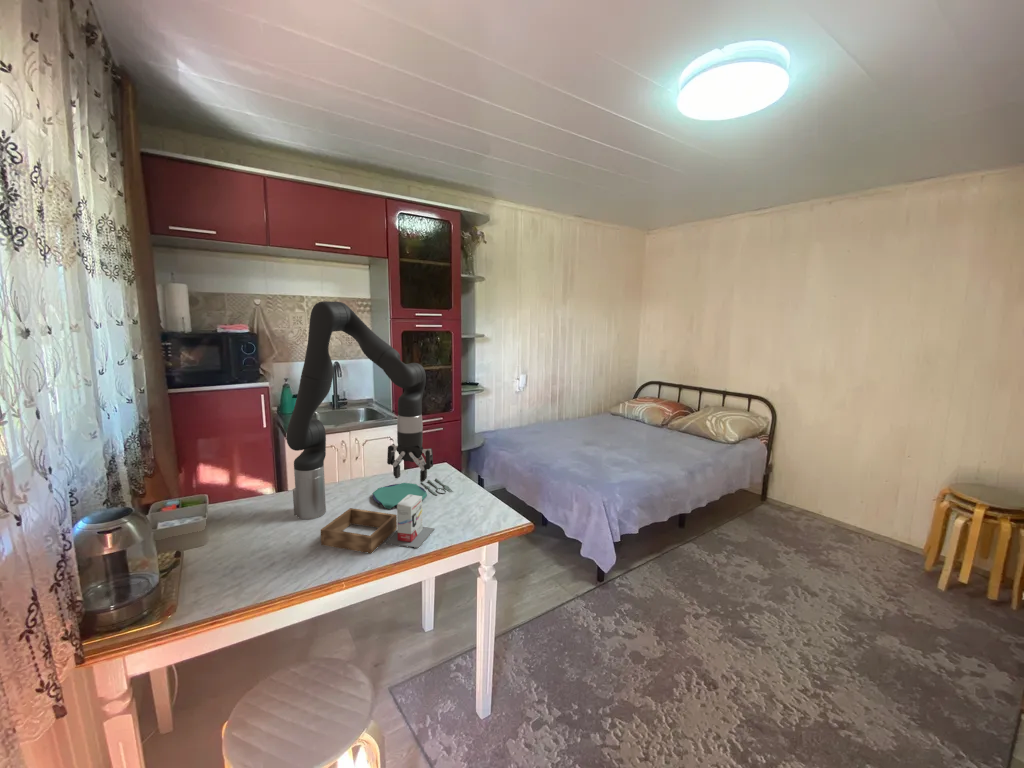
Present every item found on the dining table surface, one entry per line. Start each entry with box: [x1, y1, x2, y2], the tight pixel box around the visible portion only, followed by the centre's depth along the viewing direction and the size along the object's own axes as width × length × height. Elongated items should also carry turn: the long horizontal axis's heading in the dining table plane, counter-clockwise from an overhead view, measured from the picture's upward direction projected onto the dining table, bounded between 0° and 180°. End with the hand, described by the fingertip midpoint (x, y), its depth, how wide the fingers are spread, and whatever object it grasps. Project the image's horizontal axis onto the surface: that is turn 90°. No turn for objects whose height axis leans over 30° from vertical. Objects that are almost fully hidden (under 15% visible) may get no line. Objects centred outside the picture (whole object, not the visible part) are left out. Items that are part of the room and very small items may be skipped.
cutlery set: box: [372, 478, 454, 510], centre depth 164 cm, size 20×30×2 cm, turn 126°
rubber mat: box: [384, 526, 436, 549], centre depth 133 cm, size 11×12×1 cm
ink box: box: [396, 494, 423, 542], centre depth 132 cm, size 9×5×12 cm, turn 167°
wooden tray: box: [320, 508, 397, 554], centre depth 132 cm, size 17×15×5 cm
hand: (410, 479), depth 130 cm, fingers open, 8 cm apart
